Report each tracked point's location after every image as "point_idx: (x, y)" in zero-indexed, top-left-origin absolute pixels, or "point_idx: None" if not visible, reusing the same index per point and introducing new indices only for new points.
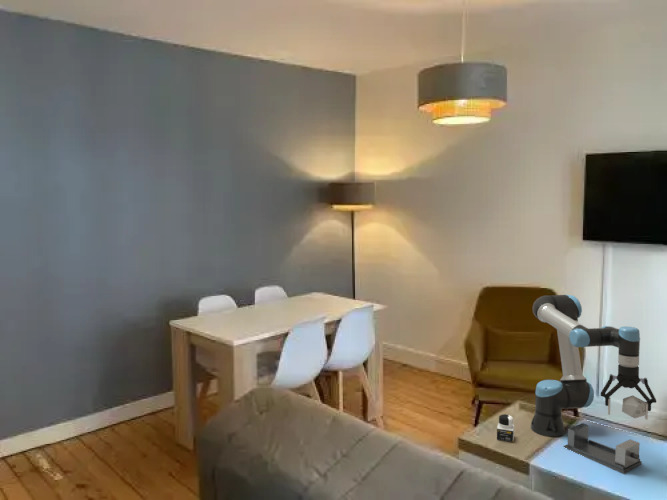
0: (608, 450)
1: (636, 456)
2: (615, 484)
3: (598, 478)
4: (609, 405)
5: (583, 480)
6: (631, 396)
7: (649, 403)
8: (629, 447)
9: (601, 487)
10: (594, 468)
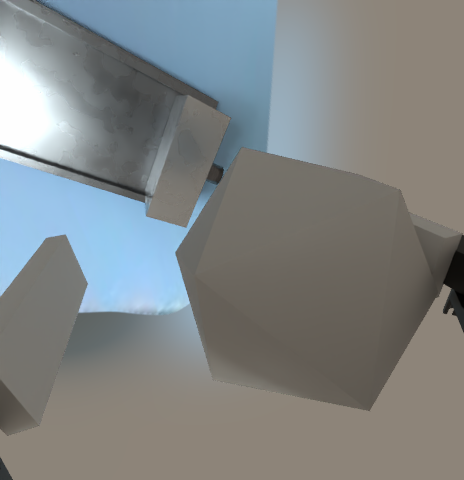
0: (82, 49)
1: (214, 183)
2: (166, 274)
3: (121, 272)
4: (56, 348)
5: (91, 304)
6: (339, 404)
7: (453, 314)
8: (197, 199)
9: (141, 306)
10: (89, 221)
